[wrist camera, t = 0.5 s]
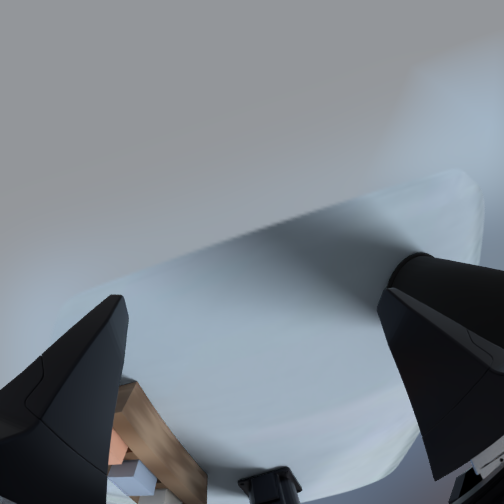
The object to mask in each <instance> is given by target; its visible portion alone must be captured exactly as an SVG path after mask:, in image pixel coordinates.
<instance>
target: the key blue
mask: <svg viewBox="0 0 504 504" xmlns="http://www.w3.org/2000/svg"><path fill="white" fill-rule="evenodd" d="M107 478H108V479H109V480H110V481H111V482H112V483H114V484H115V485H116V486H117V487H118V488H119V489H120V490H121V491H122V492H123V493H124V494H126V495H127V496H150V495H154V491H155V486H156V482H157V477H156V476H155V475H154V474H153V473H152V472H151V471H150V470H149V469H148V468H147V467H146V466H145V465H144V464H143V463H142V462H141V461H140V460H139V459H135V460H124V461H123V462H122V464H117V465H112V466H111V469H110V471H109V474H108V476H107Z"/></svg>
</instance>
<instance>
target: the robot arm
mask: <svg viewBox="0 0 504 504" xmlns="http://www.w3.org/2000/svg"><path fill="white" fill-rule="evenodd" d="M377 312H378V315H379V318H380V321H381V324H382V327H383V330H384V333H385V337H386V340H387V343H388V346H389V348H390V351H391V353H392V355H393V358H394V360H395V363H396V365H397V368H398V370H399V373H400V375H401V378H402V381H403V383H404V386H405V388H406V391H407V394H408V397H409V399H410V402H411V405H412V408H413V411H414V414H415V417H416V419H417V422H418V426H419V429H420V432H421V435H422V439H423V442H424V445H425V449H426V452H427V455H428V459H429V463H430V466H431V470H432V474H433V478H434V480H435V481H437V480H439V479H441V478H442V477H444V476H446V475H448V474H449V473H451V472H453V471H454V470H456V469H458V468H459V467H461V466H462V465H464V464H465V463H467V462H468V461H470V463H471V464H472V467H470V468H469V469H468V470H467V471H465V472H464V473H462V474H461V475H460V476H458V477H457V478H456V481H455V484H454V487H453V490H452V493H451V496H450V499H449V504H504V349H502V348H500V347H499V346H497V345H495V344H493V343H491V342H489V341H487V340H485V339H484V338H482V337H480V336H478V335H477V334H475V333H473V332H471V331H470V330H468V329H466V328H465V327H463V326H461V325H460V324H458V323H456V322H454V321H453V320H451V319H449V318H448V317H446V316H444V315H442V314H441V313H439V312H437V311H435V310H434V309H432V308H430V307H428V306H427V305H425V304H423V303H421V302H419V301H418V300H416V299H414V298H412V297H411V296H409V295H407V294H405V293H403V292H401V291H400V290H398V289H396V288H387V289H385V290H384V291H383V293H382V296H381V298H380V301H379V303H378V306H377ZM128 322H129V317H128V312H127V308H126V304H125V300H124V297H123V296H122V295H110V296H108V297H107V298H106V299H105V300H103V301H102V302H101V303H100V304H99V305H97V306H96V307H95V308H94V309H93V310H91V311H90V312H89V313H88V314H87V315H86V316H84V317H83V318H82V319H81V320H80V321H79V322H77V323H76V324H75V325H74V326H73V327H72V328H70V329H69V330H68V331H67V332H66V333H65V334H64V335H63V336H61V337H60V338H59V339H58V340H57V341H56V342H55V343H54V344H52V345H51V346H50V347H49V348H48V349H47V350H46V351H45V352H44V353H43V354H42V356H39V357H38V358H37V359H36V360H35V361H34V362H33V363H32V364H31V365H29V366H28V367H27V368H26V369H25V370H24V371H23V372H22V373H20V374H19V375H18V376H17V377H16V378H14V379H13V380H12V381H11V382H10V383H8V384H7V385H6V386H5V387H3V388H2V389H1V390H0V504H106V492H107V474H108V462H109V452H110V443H111V435H112V428H113V421H114V414H115V408H116V402H117V396H118V390H119V385H120V380H121V374H122V370H123V364H124V357H125V348H126V338H127V330H128ZM238 485H239V486H240V488H241V489H242V490H243V491H244V492H245V493H246V494H247V495H248V496H249V500H250V504H300V501H299V498H298V494H297V493H298V492H301V491H302V487H301V486H300V484H299V483H298V481H297V479H296V478H295V476H294V475H293V473H292V471H291V470H290V468H288V467H286V468H282V469H279V470H276V471H273V472H269V473H266V474H262V475H259V476H255V477H251V478H247V479H243V480H239V481H238Z"/></svg>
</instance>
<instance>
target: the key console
mask: <svg viewBox="0 0 504 504" xmlns="http://www.w3.org/2000/svg"><path fill="white" fill-rule="evenodd" d="M113 428H114V430H115V431H116V432H117V434H118V435H119V436H120V437H121V439H122V440H123V441H124V442H125V443H126V445H127V446H128V449H127V451H126V454H125V456H124V459H123V461H124V460H135V459H139V460H140V461H141V462H142V463H143V464H144V465H145V466H146V467H147V468H148V469H149V470H150V471H151V472H152V473H153V474H154V475H155V476H156V477H157V482H156V486H155V489H164V488H168V489H169V490H170V491H171V492H172V493H173V494H174V495H176V496H177V497H178V498H179V499H180V500H181V501H182V502H183V503H182V504H207V478H208V476H207V474H206V473H205V472H204V471H203V470H202V469H201V468H200V467H199V465H198V464H197V463H196V462H195V461H194V460H193V458H192V457H191V456H190V455H189V454H188V452H187V451H186V450H185V449H184V447H183V446H182V445H181V444H180V442H179V441H178V440H177V438H176V437H175V436H174V435H173V433H172V432H171V431H170V429H169V428H168V426H167V425H166V424H165V422H164V421H163V420H162V418H161V417H160V415H159V414H158V412H157V411H156V410H155V408H154V407H153V405H152V404H151V402H150V401H149V399H148V398H147V396H146V395H145V393H144V391H143V390H142V388H141V387H140V385H139V383H138V382H133V383H129V384H125V385H121V386H119V390H118V396H117V402H116V408H115V414H114V421H113ZM111 466H112V465H108V474H109V471H110V469H111ZM108 474H107V476H108ZM129 497H130V498H131V499H132V500H133V501H135V502H136V503H137V504H138V502H139V498H140V496H129Z"/></svg>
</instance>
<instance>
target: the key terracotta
mask: <svg viewBox="0 0 504 504" xmlns="http://www.w3.org/2000/svg"><path fill="white" fill-rule="evenodd" d="M127 449H128V446H127V445H126V443H125V442H124V441H123V440H122V439H121V437H120V436H119V435H118V434H117V432H116V431H115V430H114V428H112V435H111V443H110V452H109V462H108V465H117V464H122V462H123V459H124V456H125V454H126V451H127Z"/></svg>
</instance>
